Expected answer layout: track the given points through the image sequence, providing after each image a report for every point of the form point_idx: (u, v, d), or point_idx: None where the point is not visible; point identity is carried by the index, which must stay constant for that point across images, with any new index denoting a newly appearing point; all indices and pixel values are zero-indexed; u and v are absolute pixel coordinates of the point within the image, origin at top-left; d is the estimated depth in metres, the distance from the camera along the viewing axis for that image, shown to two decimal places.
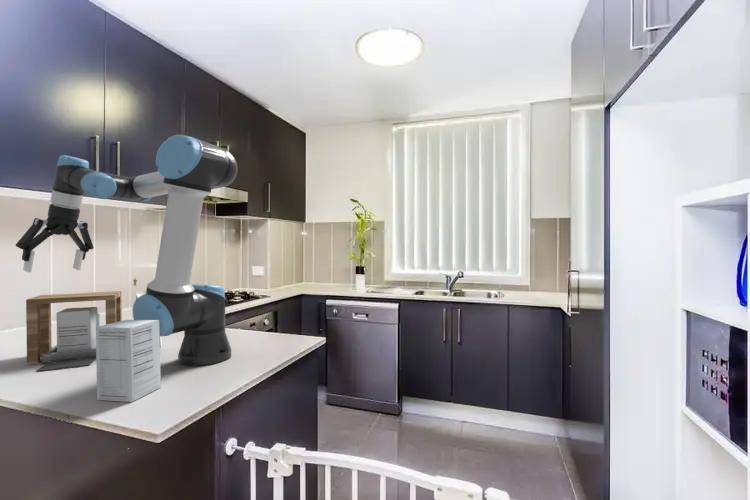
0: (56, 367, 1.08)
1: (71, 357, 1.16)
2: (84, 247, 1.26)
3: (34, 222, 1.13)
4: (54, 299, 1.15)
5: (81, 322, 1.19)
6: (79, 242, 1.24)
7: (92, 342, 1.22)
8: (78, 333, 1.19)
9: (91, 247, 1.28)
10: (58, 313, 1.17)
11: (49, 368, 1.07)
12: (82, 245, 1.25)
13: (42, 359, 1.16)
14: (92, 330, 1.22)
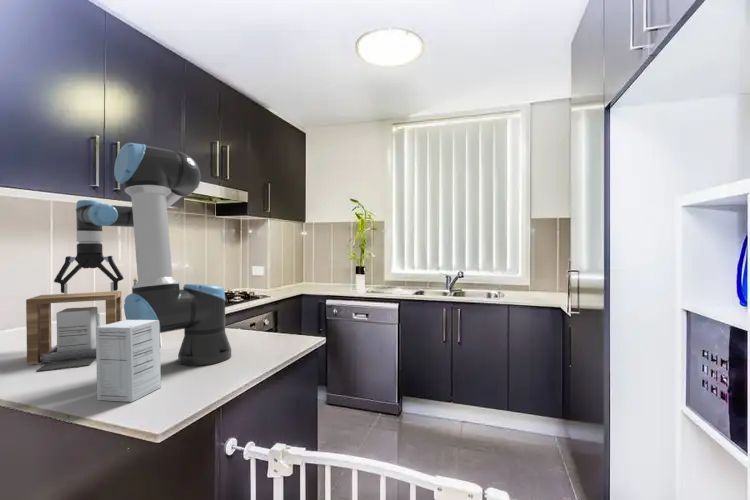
0: (56, 367, 1.08)
1: (71, 357, 1.16)
2: (113, 278, 1.40)
3: None
4: (54, 299, 1.15)
5: (81, 322, 1.19)
6: (107, 274, 1.39)
7: (92, 342, 1.22)
8: (78, 333, 1.19)
9: (120, 278, 1.41)
10: (58, 313, 1.17)
11: (49, 368, 1.07)
12: (110, 276, 1.40)
13: (42, 359, 1.16)
14: (92, 330, 1.22)
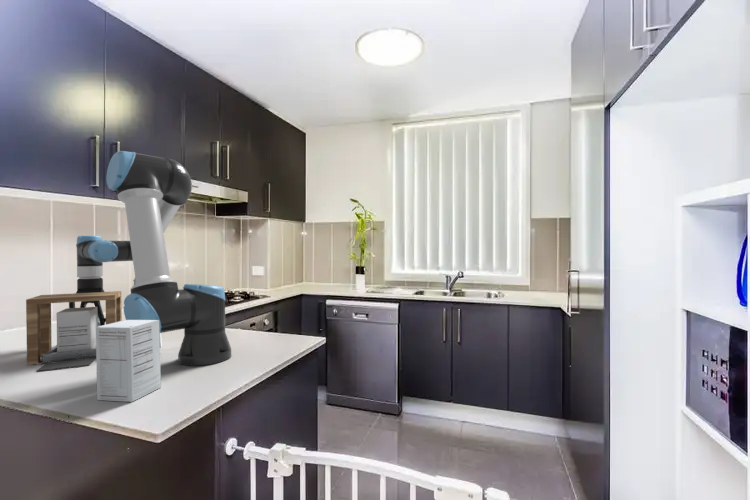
0: (56, 367, 1.08)
1: (71, 357, 1.16)
2: (101, 318, 1.38)
3: None
4: (54, 299, 1.15)
5: (81, 322, 1.19)
6: (98, 312, 1.38)
7: (92, 342, 1.22)
8: (78, 333, 1.19)
9: None
10: (58, 313, 1.17)
11: (49, 368, 1.07)
12: (100, 316, 1.38)
13: (42, 359, 1.16)
14: (92, 330, 1.22)
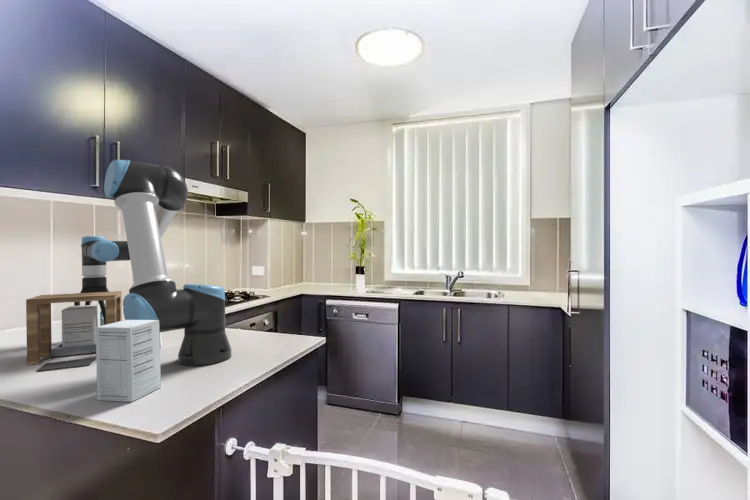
0: (56, 367, 1.08)
1: (77, 352, 1.22)
2: (105, 315, 1.45)
3: None
4: (54, 299, 1.15)
5: (85, 319, 1.24)
6: (102, 310, 1.44)
7: None
8: (83, 330, 1.24)
9: None
10: (63, 310, 1.22)
11: (49, 368, 1.07)
12: (104, 313, 1.44)
13: (42, 359, 1.16)
14: None
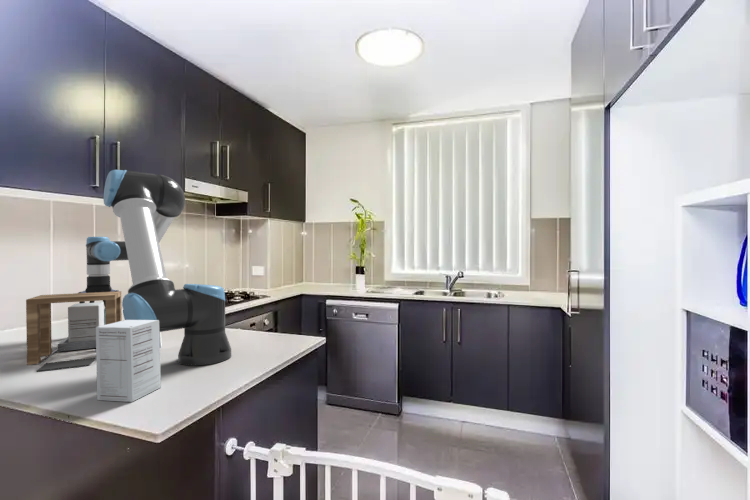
0: (56, 367, 1.08)
1: (82, 347, 1.29)
2: None
3: None
4: (54, 299, 1.15)
5: (90, 316, 1.30)
6: None
7: None
8: (88, 326, 1.30)
9: None
10: (69, 308, 1.28)
11: (49, 368, 1.07)
12: None
13: (42, 359, 1.16)
14: (100, 323, 1.33)
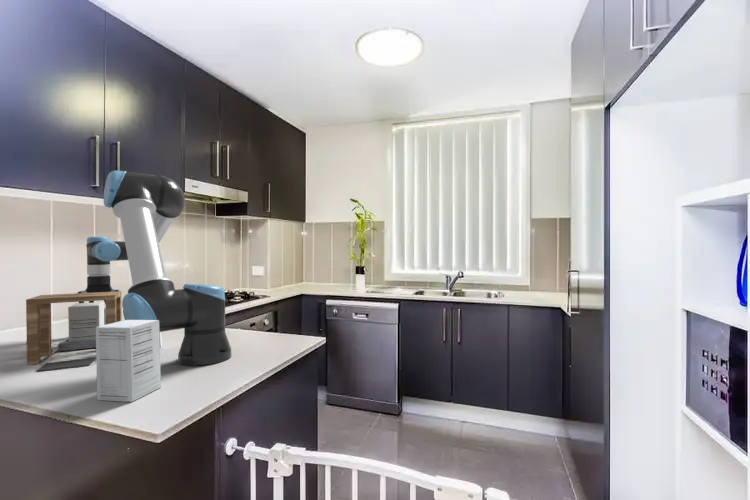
0: (56, 367, 1.08)
1: (83, 346, 1.29)
2: None
3: None
4: (54, 299, 1.15)
5: (90, 315, 1.31)
6: None
7: None
8: (88, 326, 1.31)
9: None
10: (70, 307, 1.28)
11: (49, 368, 1.07)
12: None
13: (42, 359, 1.16)
14: (100, 323, 1.34)
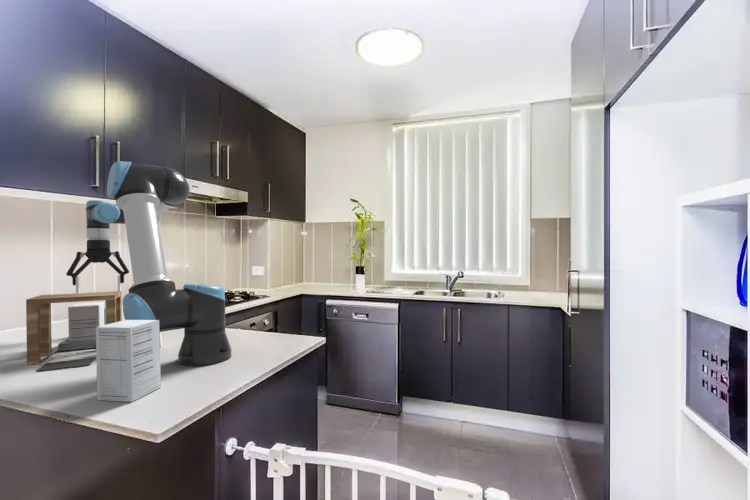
0: (56, 367, 1.08)
1: (83, 346, 1.29)
2: (119, 271, 1.53)
3: None
4: (54, 299, 1.15)
5: (90, 315, 1.31)
6: (114, 268, 1.52)
7: None
8: (88, 326, 1.31)
9: (126, 271, 1.54)
10: (70, 307, 1.28)
11: (49, 368, 1.07)
12: (117, 270, 1.53)
13: (42, 359, 1.16)
14: (100, 323, 1.34)
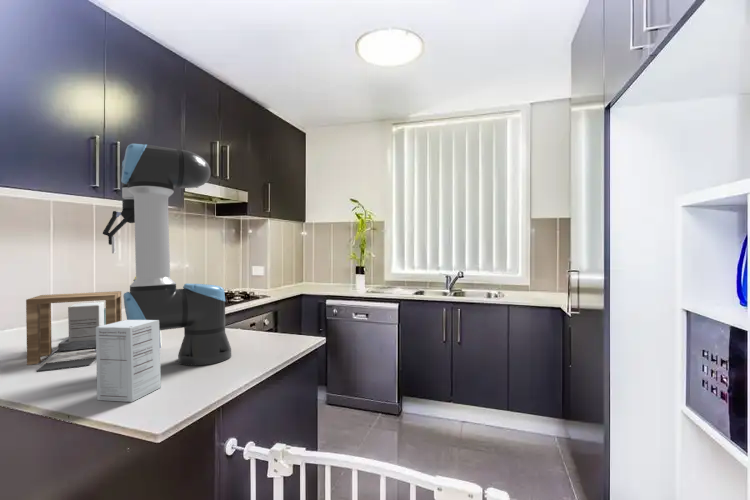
0: (56, 367, 1.08)
1: (83, 346, 1.29)
2: None
3: None
4: (54, 299, 1.15)
5: (90, 315, 1.31)
6: None
7: None
8: (88, 326, 1.31)
9: None
10: (69, 307, 1.28)
11: (49, 368, 1.07)
12: None
13: (42, 359, 1.16)
14: (100, 323, 1.34)
